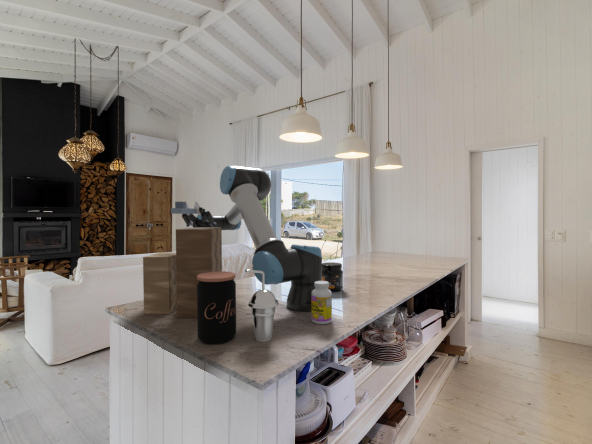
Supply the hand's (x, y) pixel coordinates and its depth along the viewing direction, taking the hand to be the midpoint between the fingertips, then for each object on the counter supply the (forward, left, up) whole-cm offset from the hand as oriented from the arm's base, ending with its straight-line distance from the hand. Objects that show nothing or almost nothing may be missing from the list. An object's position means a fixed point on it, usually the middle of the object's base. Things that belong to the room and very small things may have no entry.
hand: (189, 204), depth 129 cm
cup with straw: (-49, +12, -39) cm, 64 cm away
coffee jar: (-38, +19, -39) cm, 58 cm away
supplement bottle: (-55, -10, -39) cm, 68 cm away
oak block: (0, +11, -39) cm, 41 cm away
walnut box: (-14, +6, -39) cm, 42 cm away
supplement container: (-36, -50, -39) cm, 73 cm away
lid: (-2, +3, -4) cm, 5 cm away
